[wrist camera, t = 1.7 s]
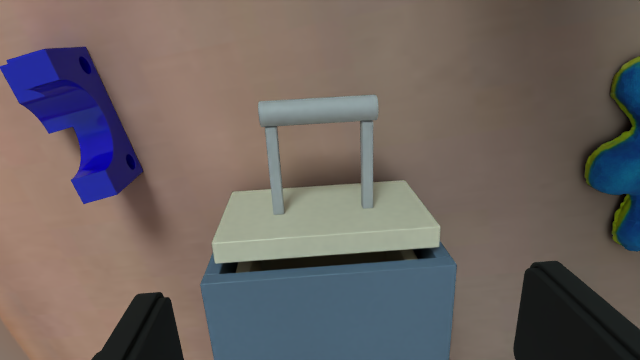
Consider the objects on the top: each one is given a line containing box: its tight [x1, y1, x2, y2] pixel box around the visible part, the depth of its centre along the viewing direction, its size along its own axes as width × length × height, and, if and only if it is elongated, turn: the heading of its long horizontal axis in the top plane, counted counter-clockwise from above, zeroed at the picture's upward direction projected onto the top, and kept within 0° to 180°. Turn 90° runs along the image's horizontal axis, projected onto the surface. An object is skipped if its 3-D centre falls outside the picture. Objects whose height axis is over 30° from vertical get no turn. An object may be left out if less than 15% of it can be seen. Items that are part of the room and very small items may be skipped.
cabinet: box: [200, 242, 457, 360], centre depth 26 cm, size 15×13×9 cm
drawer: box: [212, 95, 440, 273], centre depth 24 cm, size 20×11×7 cm, turn 3°
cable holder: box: [0, 47, 143, 204], centre depth 22 cm, size 8×4×4 cm, turn 15°
